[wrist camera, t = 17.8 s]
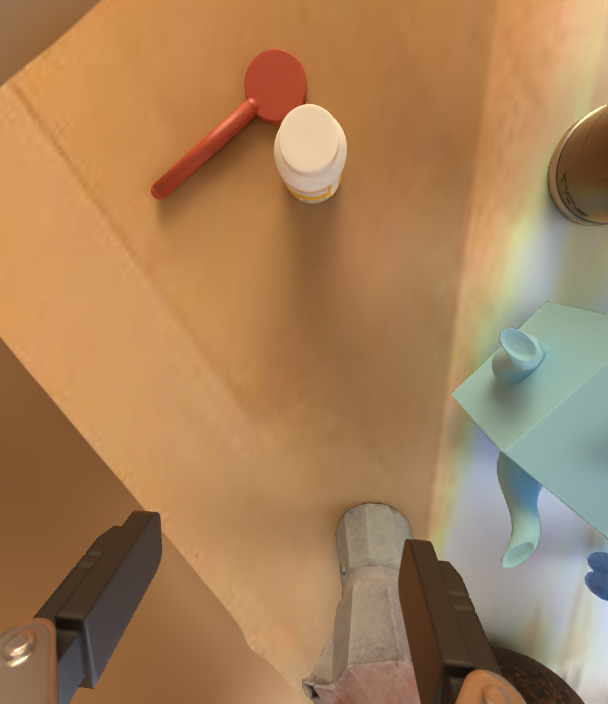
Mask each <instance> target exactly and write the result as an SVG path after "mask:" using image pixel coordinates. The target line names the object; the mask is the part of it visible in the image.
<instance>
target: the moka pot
mask: <svg viewBox="0 0 608 704" xmlns="http://www.w3.org/2000/svg"><path fill="white" fill-rule="evenodd" d="M405 539H413V535H412V531H411V527H410V525H409V522H408V520H407V519H406V518H405V517H404V516H403V515H402V514H400V513H399V512H398V511H396V510H395V509H393V508H392V507H390V506H387V505H383V504H373V503H368V504H363V505H358V506H356V507H354V508H352V509H351V510H348V511H347V512H346V513H345V514H344V515H343V516H342V518H341V520H340V522H339V524H338V527H337V530H336V541H337V549H338V556H339V566H340V574H341V582H342V587H343V588H342V600H341V601H340V603H339V604H338V606H337V611H336V617H335V623H334V630H333V633H332V635H331V637H330V639H329V641H328V643H327V645H326V647H325V648H324V650H323V652H322V654H321V656H320V658H319V660H318V662H317V664H316V666H315V667H314V669H313V671H312V673H311V675H310V676H309V677H308V678H306V679H303V680H302V686H303V689H304V691H305V694H306V696H307V697H308V698H309V699H311V700H312V701H313V703H314V704H421V703H420V698H419V693H418V688H417V684H416V679H415V674H414V669H413V664H412V659H411V654H410V649H409V644H408V640H407V635H406V630H405V625H404V620H403V615H402V610H401V605H400V600H399V593H398V576H399V570H400V564H401V558H402V553H403V547H404V542H405Z"/></svg>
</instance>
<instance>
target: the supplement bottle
mask: <svg viewBox="0 0 608 704" xmlns="http://www.w3.org/2000/svg"><path fill="white" fill-rule="evenodd" d="M346 157H347V143H346V138H345V135H344V132H343V130H342V128H341V127H340V125H339V124H338V122H337V121H336V120H335V119H334V118H333V117H332V116H331V114H330V113H329V112H328V111H326V110H325V109H324V108H322V107H320V106H317V105H313V104H306V105H301V106H298V107H296V108H295V109H293V110H292V111H290V112H289V113H288V114H287V116H286V117H285V118H284V120H283V122H282V123H281V126H280V129H279V131H278V133H277V135H276V139H275V143H274V159H275V164H276V167H277V169H278V172H279V174H280V175H281V177H282V179H283V181H284V183H285V184H286V187H287V188H288V190H289V191H290V192H291V194H292V195H293V196H294V197H296V198H297V199H299V200H300V201H303V202H306V203H319V202H322V201H325V200H326V199H328V198H330V197H331V196H332V195H333V194H334V193H335V192H336V190H337V188H338V187H339V185H340V182H341V179H342V175H343V170H344V166H345V162H346Z"/></svg>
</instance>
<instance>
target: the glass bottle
mask: <svg viewBox="0 0 608 704" xmlns="http://www.w3.org/2000/svg"><path fill="white" fill-rule="evenodd" d="M491 650H492V652H493V655H494V657H495V660H496V662H497V665H498V667H499V669H500V672H501V674H502V676H503V677H504V679H506V680H507V681H508V682H509V683H510V684H511V685H513V686H514V687H515V688H516V690H517V691H518V692H519V693H520V694H521V696H522V697H523V699H524V700H525V702H526V704H585V703H584V702H583V701H582V699H581V698H580V697H579V696H578V694H577V693H576V692H575V691H574V690H573V689H572V688H571V687H570V686H569V685H568V684H567V683H566V682H565V681H564V680H563V679H562V678H560V677H559V676H558V675H557V674H555V673H554V672H553V671H552V670H550V669H549V668H547V667H546V666H544V665H543V664H541V663H539V662H537V661H536V660H534V659H532V658H530V657H527V656H525V655H523V654H520V653H517V652H514V651H511V650H506V649H500V648H491Z"/></svg>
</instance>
